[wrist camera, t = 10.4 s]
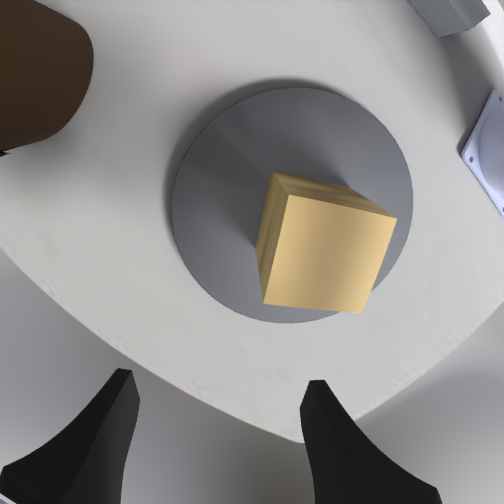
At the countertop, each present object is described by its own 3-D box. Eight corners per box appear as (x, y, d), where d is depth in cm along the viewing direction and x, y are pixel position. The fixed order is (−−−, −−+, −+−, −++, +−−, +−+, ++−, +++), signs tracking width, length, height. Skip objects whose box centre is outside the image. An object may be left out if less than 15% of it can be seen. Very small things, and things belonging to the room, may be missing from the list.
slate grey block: (459, 21, 12) (490, 13, 9) (436, 38, 13) (469, 29, 10) (428, -18, 11) (456, -32, 7) (402, -4, 12) (431, -21, 8)
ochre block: (350, 187, 17) (397, 218, 12) (329, 259, 19) (361, 313, 14) (271, 170, 16) (288, 194, 11) (255, 248, 18) (263, 303, 13)
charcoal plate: (440, 184, 18) (447, 188, 17) (319, 341, 23) (322, 349, 22) (259, 42, 14) (260, 38, 13) (137, 254, 19) (133, 261, 18)
